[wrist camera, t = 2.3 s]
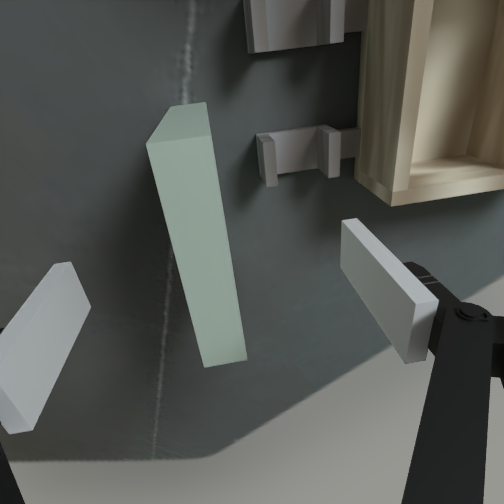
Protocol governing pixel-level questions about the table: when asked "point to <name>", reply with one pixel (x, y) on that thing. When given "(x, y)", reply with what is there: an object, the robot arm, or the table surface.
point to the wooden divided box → (398, 94)
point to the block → (198, 229)
